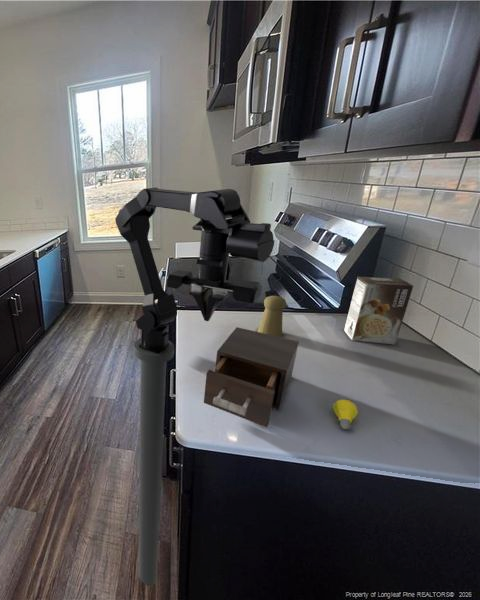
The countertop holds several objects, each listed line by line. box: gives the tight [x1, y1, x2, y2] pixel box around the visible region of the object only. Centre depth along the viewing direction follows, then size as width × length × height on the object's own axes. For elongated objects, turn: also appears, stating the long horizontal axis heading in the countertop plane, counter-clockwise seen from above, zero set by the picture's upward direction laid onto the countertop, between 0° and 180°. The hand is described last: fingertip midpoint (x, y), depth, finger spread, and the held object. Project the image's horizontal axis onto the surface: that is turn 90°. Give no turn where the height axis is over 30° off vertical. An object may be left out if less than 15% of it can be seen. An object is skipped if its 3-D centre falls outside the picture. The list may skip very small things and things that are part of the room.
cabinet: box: [214, 326, 300, 411], centre depth 69 cm, size 14×13×9 cm
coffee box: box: [343, 276, 414, 345], centre depth 82 cm, size 9×6×16 cm
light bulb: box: [332, 398, 359, 430], centre depth 58 cm, size 3×6×4 cm, turn 145°
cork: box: [257, 295, 287, 337], centre depth 88 cm, size 6×6×11 cm
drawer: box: [203, 356, 281, 428], centre depth 62 cm, size 17×11×7 cm
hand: (207, 320), depth 72 cm, fingers closed
